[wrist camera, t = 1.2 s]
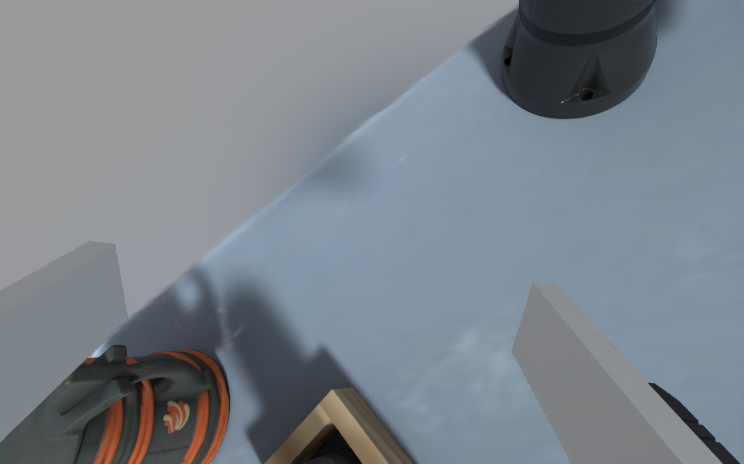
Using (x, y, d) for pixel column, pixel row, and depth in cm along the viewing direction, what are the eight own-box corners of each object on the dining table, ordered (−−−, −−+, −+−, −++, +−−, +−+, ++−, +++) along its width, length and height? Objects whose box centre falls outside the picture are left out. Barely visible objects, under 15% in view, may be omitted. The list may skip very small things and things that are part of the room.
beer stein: (234, 306, 47) (69, 270, 30) (281, 413, 40) (103, 449, 23) (126, 393, 48) (-95, 408, 31) (154, 511, 42) (-109, 617, 24)
